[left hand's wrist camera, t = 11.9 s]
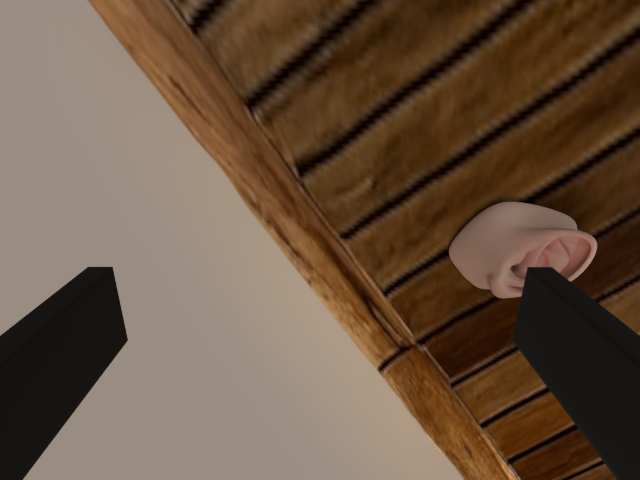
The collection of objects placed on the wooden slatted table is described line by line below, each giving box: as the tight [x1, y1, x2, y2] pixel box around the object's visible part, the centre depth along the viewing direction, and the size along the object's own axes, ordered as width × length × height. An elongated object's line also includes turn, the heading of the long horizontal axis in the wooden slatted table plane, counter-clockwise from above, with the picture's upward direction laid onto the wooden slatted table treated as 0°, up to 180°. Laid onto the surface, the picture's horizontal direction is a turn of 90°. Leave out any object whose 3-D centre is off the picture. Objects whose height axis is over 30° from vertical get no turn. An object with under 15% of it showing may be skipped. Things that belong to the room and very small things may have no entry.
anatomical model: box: [449, 202, 597, 298], centre depth 43 cm, size 13×4×12 cm
